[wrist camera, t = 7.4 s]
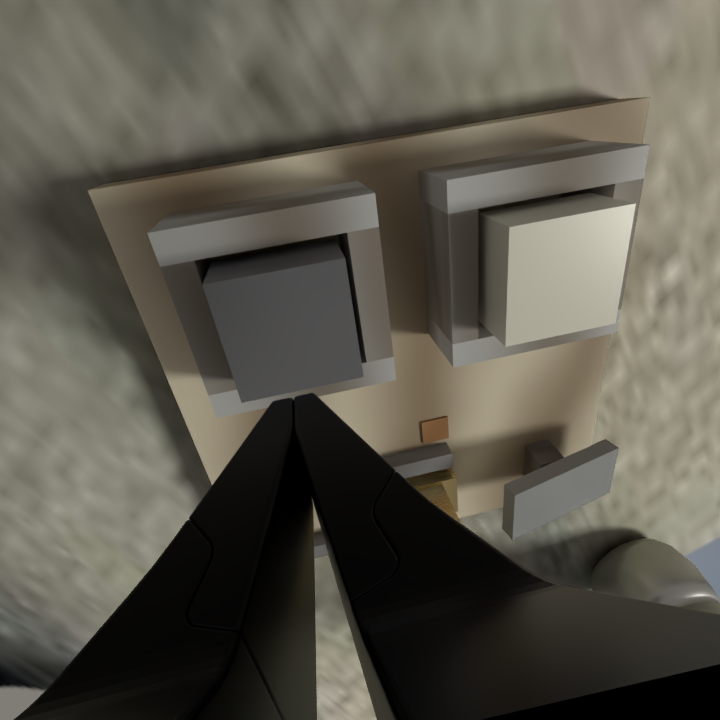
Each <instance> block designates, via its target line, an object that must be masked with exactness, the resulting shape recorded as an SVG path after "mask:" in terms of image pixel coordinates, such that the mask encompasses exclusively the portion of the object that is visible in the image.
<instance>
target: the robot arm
mask: <svg viewBox="0 0 720 720" xmlns="http://www.w3.org/2000/svg"><path fill="white" fill-rule="evenodd" d="M312 499H313V500H312ZM313 502H314V506H315V510H316V514H317V517H318V521H319V524H320V527H321V531H322V534H323V538H324V541H325V544H326V548H327V551H328V555H329V558H330V561H331V565H332V568H333V572H334V575H335V578H336V582H337V585H338V589H339V592H340V595H341V599H342V602H343V606H344V609H345V612H346V616H347V619H348V623H349V626H350V629H351V633H352V636H353V640H354V643H355V646H356V650H357V653H358V657H359V660H360V663H361V667H362V670H363V674H364V677H365V680H366V684H367V687H368V691H369V694H370V697H371V701H372V704H373V708H374V711H375V714H376V718H377V720H720V614H716V613H709V612H703V611H698V610H693V609H687V608H682V607H677V606H671V605H666V604H660V603H655V602H650V601H644V600H639V599H633V598H628V597H623V596H617V595H612V594H607V593H601V592H596V591H590V590H585V589H580V588H574V587H569V586H564V585H560V584H557V583H554V582H551V581H549V580H546V579H544V578H542V577H540V576H538V575H536V574H534V573H532V572H530V571H529V570H527V569H525V568H523V567H522V566H520V565H519V564H517V563H516V562H514V561H513V560H512V559H510V558H509V557H507V556H506V555H505V554H503V553H502V552H500V551H499V550H497V549H496V548H495V547H493V546H492V545H490V544H489V543H488V542H486V541H485V540H483V539H482V538H481V537H479V536H478V535H476V534H475V533H474V532H472V531H471V530H469V529H468V528H466V527H465V526H464V525H462V524H461V523H459V522H458V521H457V520H455V519H454V518H452V517H451V516H450V515H448V514H447V513H446V512H444V511H443V510H442V509H440V508H439V507H438V506H436V505H435V504H434V503H432V502H431V501H430V500H428V499H427V498H426V497H425V496H424V495H423V494H422V493H420V492H419V491H418V490H417V489H416V488H415V487H414V486H412V485H411V484H410V483H409V482H408V481H407V480H406V479H405V478H404V477H403V476H402V475H401V474H400V473H398V472H396V470H395V469H394V468H393V467H392V466H391V465H390V464H389V463H388V462H387V461H386V460H384V459H383V458H382V457H381V456H380V455H379V454H378V453H377V452H376V451H375V450H374V449H373V448H372V447H371V446H370V445H369V444H368V443H366V442H365V441H364V440H363V439H362V438H361V437H360V436H359V435H358V434H357V433H356V432H355V431H354V430H353V429H352V428H351V427H350V426H348V425H347V424H346V423H345V422H344V421H343V420H342V419H341V418H340V417H339V416H338V415H337V414H336V413H335V412H334V411H333V410H331V409H330V408H329V407H328V406H327V405H326V404H325V403H324V402H323V401H322V400H321V399H320V398H319V397H318V396H317V395H316V394H314V393H308V394H303V395H299V396H296V397H295V398H294V400H293V398H285V399H280V400H275V401H273V402H272V403H271V404H270V405H269V407H268V408H267V410H266V411H265V412H264V414H263V415H262V417H261V418H260V419H259V421H258V422H257V424H256V425H255V426H254V428H253V429H252V430H251V432H250V433H249V435H248V436H247V437H246V439H245V440H244V442H243V443H242V444H241V446H240V447H239V449H238V450H237V451H236V453H235V454H234V456H233V457H232V458H231V460H230V461H229V463H228V464H227V465H226V467H225V468H224V470H223V471H222V472H221V474H220V475H219V477H218V478H217V479H216V481H215V482H214V483H213V485H212V486H211V488H210V489H209V490H208V492H207V493H206V495H205V496H204V497H203V499H202V500H201V502H200V503H199V504H198V506H197V507H196V509H195V510H194V511H193V513H192V514H191V516H190V517H189V520H187V521H186V522H185V524H184V525H183V526H182V528H181V529H180V531H179V532H178V533H177V535H176V536H175V538H174V539H173V540H172V542H171V543H170V544H169V546H168V547H167V548H166V549H165V551H164V552H163V553H162V555H161V556H160V557H159V559H158V560H157V561H156V563H155V564H154V565H153V566H152V568H151V569H150V570H149V571H148V572H147V574H146V575H145V576H144V577H143V579H142V580H141V581H140V582H139V583H138V585H137V586H136V587H135V588H134V589H133V591H132V592H131V593H130V594H129V595H128V597H127V598H126V599H125V600H124V601H123V602H122V604H121V605H120V606H119V607H118V608H117V609H116V611H115V612H114V613H113V614H112V615H111V616H110V617H109V619H108V620H107V621H106V622H105V623H104V624H103V626H102V627H101V628H100V629H99V630H98V631H97V633H96V634H95V635H94V636H93V637H92V638H91V639H90V641H89V642H88V643H87V644H86V645H85V646H84V648H83V649H82V650H81V651H80V652H79V653H78V655H77V656H76V657H75V658H74V659H73V660H72V662H71V663H70V664H69V665H68V666H67V667H66V668H65V670H64V671H63V672H62V673H61V674H60V675H59V677H58V678H57V679H56V680H55V681H54V682H53V683H52V684H51V685H50V686H49V688H48V689H47V690H46V691H45V692H44V693H43V694H42V695H41V696H40V697H39V698H38V699H37V700H36V701H35V702H34V703H33V704H31V705H30V706H29V707H28V708H27V709H26V710H25V711H24V712H22V713H21V714H20V715H19V716H18V717H16V718H15V719H14V720H317V696H316V635H315V574H314V515H313Z"/></svg>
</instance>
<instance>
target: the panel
mask: <svg viewBox="0 0 720 720" xmlns="http://www.w3.org/2000/svg"><path fill="white" fill-rule="evenodd" d="M649 102H650V97H645V98H627V99H616V100H610V101H604V102H598V103H592V104H585V105H579V106H573V107H567V108H561V109H555V110H549V111H543V112H537V113H531V114H525V115H519V116H513V117H507V118H501V119H495V120H489V121H483V122H476V123H470V124H464V125H458V126H452V127H446V128H440V129H434V130H428V131H422V132H416V133H410V134H404V135H398V136H392V137H386V138H380V139H373V140H367V141H361V142H355V143H349V144H343V145H337V146H331V147H325V148H319V149H313V150H307V151H301V152H295V153H289V154H283V155H277V156H270V157H264V158H258V159H252V160H246V161H240V162H234V163H228V164H222V165H216V166H210V167H204V168H198V169H192V170H186V171H180V172H174V173H167V174H161V175H155V176H149V177H143V178H137V179H131V180H125V181H119V182H113V183H107V184H103V185H100V186H98V187H95V188H93V189H90V190H87V191H88V193H89V195H90V198H91V200H92V202H93V205H94V207H95V209H96V212H97V214H98V217H99V219H100V221H101V224H102V226H103V228H104V231H105V233H106V235H107V238H108V240H109V243H110V245H111V247H112V250H113V252H114V254H115V257H116V259H117V261H118V264H119V266H120V269H121V271H122V273H123V276H124V278H125V280H126V283H127V285H128V288H129V290H130V292H131V295H132V297H133V299H134V302H135V304H136V306H137V309H138V311H139V314H140V316H141V318H142V321H143V323H144V325H145V328H146V330H147V332H148V335H149V337H150V340H151V342H152V344H153V347H154V349H155V351H156V354H157V356H158V358H159V361H160V363H161V366H162V368H163V370H164V373H165V375H166V377H167V380H168V382H169V385H170V387H171V389H172V392H173V394H174V396H175V399H176V401H177V403H178V406H179V408H180V411H181V413H182V415H183V418H184V420H185V422H186V425H187V427H188V429H189V432H190V434H191V437H192V439H193V441H194V444H195V446H196V448H197V451H198V453H199V455H200V458H201V460H202V463H203V465H204V467H205V470H206V472H207V474H208V477H209V479H210V481H211V484H212V485H213V483H214V482H215V481H216V479H217V478H218V477H219V475H220V474H221V472H222V471H223V470H224V468H225V467H226V465H227V464H228V463H229V461H230V460H231V458H232V457H233V456H234V454H235V453H236V451H237V450H238V449H239V447H240V446H241V444H242V443H243V442H244V440H245V439H246V437H247V436H248V435H249V433H250V432H251V430H252V429H253V428H254V426H255V425H256V424H257V422H258V421H259V419H260V418H261V417H262V415H263V414H264V412H265V411H266V410H267V408H268V407H269V405H270V404H271V403H272V402H273V401H275V400H280V399H285V398H293V400H294V398H295V397H296V396H299V395H303V394H308V393H314V394H316V395H317V396H318V397H319V398H320V399H321V400H322V401H323V402H324V403H325V404H326V405H327V406H328V407H329V408H330V409H331V410H333V411H334V412H335V413H336V414H337V415H338V416H339V417H340V418H341V419H342V420H343V421H344V422H345V423H346V424H347V425H348V426H350V427H351V428H352V429H353V430H354V431H355V432H356V433H357V434H358V435H359V436H360V437H361V438H362V439H363V440H364V441H365V442H366V443H368V444H369V445H370V446H371V447H372V448H373V449H374V450H375V451H376V452H377V453H378V454H379V455H380V456H381V457H382V458H383V459H384V460H386V461H387V462H388V463H389V464H390V465H391V466H392V467H393V468H394V469H395V470H396V472H398V473H400V474H401V475H402V476H403V477H404V478H408V477H413V476H417V475H421V474H425V473H430V472H434V471H438V470H442V469H447V468H452V469H453V471H454V473H455V475H456V477H457V496H458V512H456V514H457V516H458V518H462V517H466V516H470V515H474V514H478V513H482V512H486V511H490V510H495V509H499V508H503V499H504V484H506V483H509V482H511V481H513V480H515V479H518V478H520V477H522V476H524V475H527V474H529V473H531V472H533V471H535V470H538V469H540V468H542V467H544V466H547V465H549V464H551V463H553V462H556V461H558V460H560V459H562V458H564V457H567V456H569V455H571V454H573V453H576V452H578V451H580V450H582V449H585V448H587V447H589V446H591V445H592V443H593V437H594V431H595V425H596V419H597V413H598V407H599V401H600V395H601V389H602V383H603V377H604V371H605V365H606V359H607V353H608V347H609V341H610V335H611V334H613V333H617V328H618V323H619V317H620V311H621V306H622V300H623V294H624V288H625V283H626V277H627V271H628V266H629V260H630V254H631V248H632V243H633V237H634V231H635V226H636V220H637V214H638V208H639V203H640V197H641V191H642V186H643V180H644V174H645V168H646V163H647V157H648V151H649V146H650V145H648V144H643V138H644V132H645V126H646V120H647V114H648V108H649ZM585 193H593V194H598V195H602V196H606V197H611V198H615V199H619V200H624V201H628V202H632V203H636V206H635V212H634V218H633V224H632V230H631V236H630V241H629V247H628V253H627V259H626V265H625V271H624V276H623V282H622V288H621V294H620V300H619V306H618V311H617V317H616V323H615V324H611V325H606V326H602V327H597V328H592V329H587V330H583V331H578V332H573V333H569V334H564V335H559V336H554V337H550V338H545V339H540V340H536V341H531V342H526V343H522V344H517V345H512V346H507V347H505V346H504V345H503V344H502V343H501V342H500V341H499V340H498V339H497V338H496V337H495V336H494V335H493V334H492V333H491V332H490V331H489V330H487V329H486V328H485V327H484V326H483V325H482V324H481V323H480V322H479V321H478V213H481V212H487V211H492V210H498V209H503V208H508V207H514V206H519V205H525V204H530V203H536V202H541V201H547V200H552V199H557V198H563V197H568V196H574V195H579V194H585ZM334 239H335V240H336V242H337V244H338V245H339V247H340V249H341V251H342V253H343V255H344V257H345V260H346V266H347V273H348V279H349V286H350V292H351V298H352V305H353V311H354V318H355V324H356V330H357V337H358V343H359V350H360V356H361V362H362V369H363V375H364V377H361V378H357V379H352V380H347V381H343V382H338V383H333V384H329V385H324V386H319V387H314V388H310V389H305V390H300V391H296V392H291V393H286V394H281V395H277V396H272V397H267V398H263V399H258V400H253V401H248V402H244V403H241V400H240V397H239V394H238V391H237V388H236V385H235V382H234V379H233V376H232V373H231V370H230V367H229V364H228V361H227V358H226V355H225V352H224V349H223V346H222V343H221V340H220V337H219V334H218V331H217V328H216V325H215V322H214V319H213V316H212V313H211V310H210V307H209V304H208V301H207V298H206V295H205V292H204V289H203V286H202V284H203V282H204V279H205V277H206V275H207V272H208V270H209V267H210V265H211V262H215V261H220V260H225V259H231V258H236V257H242V256H247V255H253V254H258V253H264V252H269V251H274V250H280V249H285V248H291V247H296V246H302V245H307V244H313V243H318V242H323V241H329V240H334ZM312 500H313V499H312ZM313 515H314V558H318V557H322V556H326V555H328V551H327V548H326V544H325V541H324V538H323V534H322V531H321V527H320V524H319V521H318V517H317V514H316V510H315V506H314V502H313Z"/></svg>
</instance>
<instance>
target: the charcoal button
mask: <svg viewBox="0 0 720 720" xmlns="http://www.w3.org/2000/svg"><path fill="white" fill-rule="evenodd" d="M202 286H203V289H204V292H205V295H206V298H207V301H208V304H209V307H210V310H211V313H212V316H213V319H214V322H215V325H216V328H217V331H218V334H219V337H220V340H221V343H222V346H223V349H224V352H225V355H226V358H227V361H228V364H229V367H230V370H231V373H232V376H233V379H234V382H235V385H236V388H237V391H238V394H239V397H240V400H241V403H244V402H248V401H253V400H258V399H263V398H267V397H272V396H277V395H281V394H286V393H291V392H296V391H300V390H305V389H310V388H314V387H319V386H324V385H329V384H333V383H338V382H343V381H347V380H352V379H357V378H361V377H364V375H363V369H362V362H361V356H360V350H359V343H358V337H357V330H356V324H355V318H354V311H353V305H352V298H351V292H350V286H349V279H348V273H347V266H346V260H345V257H344V255H343V253H342V251H341V249H340V247H339V245H338V244H337V242H336V240H335V239H334V240H329V241H323V242H318V243H313V244H307V245H302V246H296V247H291V248H285V249H280V250H274V251H269V252H264V253H258V254H253V255H247V256H242V257H236V258H231V259H225V260H220V261H215V262H211V265H210V267H209V270H208V272H207V275H206V277H205V279H204V282H203V284H202Z"/></svg>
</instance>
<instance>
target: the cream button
mask: <svg viewBox="0 0 720 720" xmlns="http://www.w3.org/2000/svg"><path fill="white" fill-rule="evenodd" d="M635 206H636V203H632V202H628V201H624V200H619V199H615V198H611V197H606V196H602V195H598V194H593V193H585V194H579V195H574V196H568V197H563V198H557V199H552V200H547V201H541V202H536V203H530V204H525V205H519V206H514V207H508V208H503V209H498V210H492V211H487V212H481V213H478V321H479V322H480V323H481V324H482V325H483V326H484V327H485V328H486V329H487V330H489V331H490V332H491V333H492V334H493V335H494V336H495V337H496V338H497V339H498V340H499V341H500V342H501V343H502V344H503V345H504V346H505V347H507V346H512V345H517V344H522V343H526V342H531V341H536V340H540V339H545V338H550V337H554V336H559V335H564V334H569V333H573V332H578V331H583V330H587V329H592V328H597V327H602V326H606V325H611V324H615V323H616V317H617V311H618V306H619V300H620V294H621V288H622V282H623V276H624V271H625V265H626V259H627V253H628V247H629V241H630V236H631V230H632V224H633V218H634V212H635Z"/></svg>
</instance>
